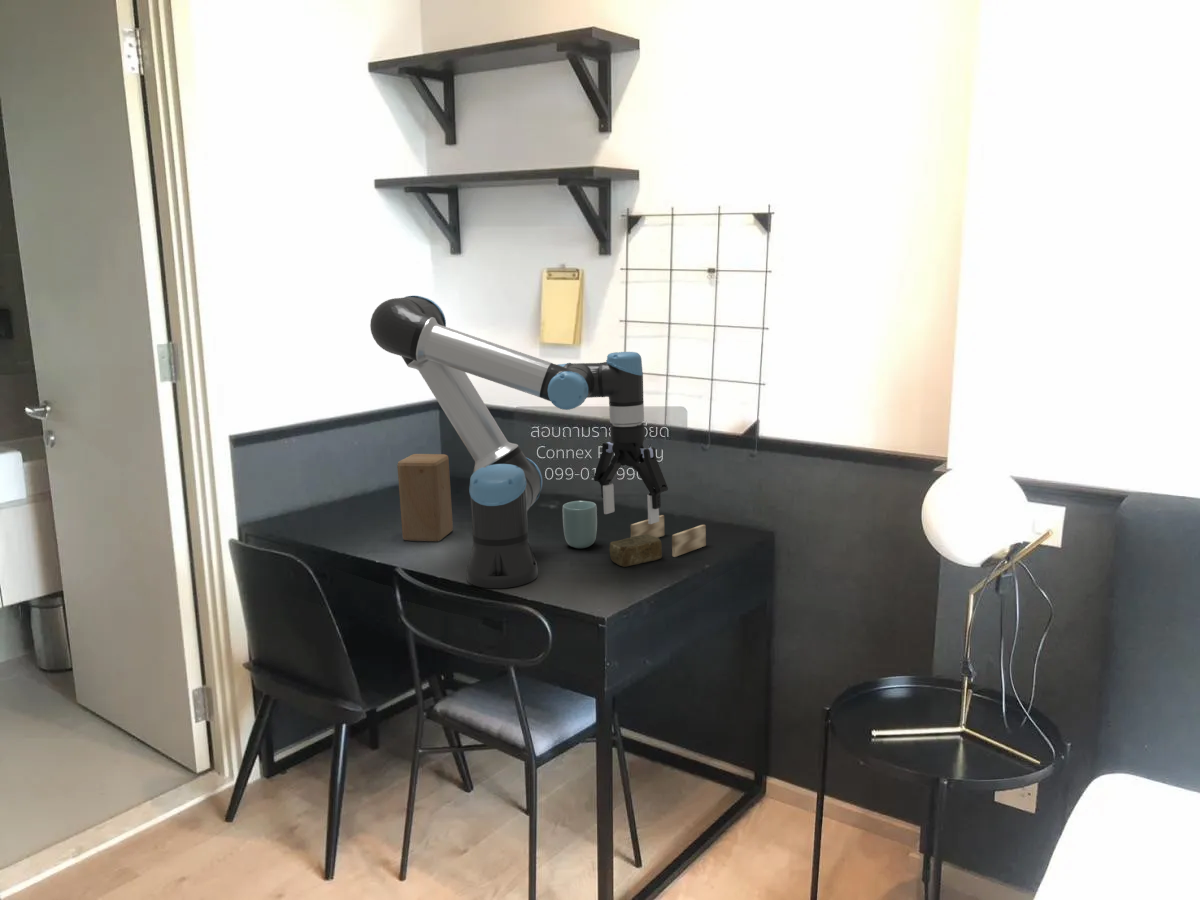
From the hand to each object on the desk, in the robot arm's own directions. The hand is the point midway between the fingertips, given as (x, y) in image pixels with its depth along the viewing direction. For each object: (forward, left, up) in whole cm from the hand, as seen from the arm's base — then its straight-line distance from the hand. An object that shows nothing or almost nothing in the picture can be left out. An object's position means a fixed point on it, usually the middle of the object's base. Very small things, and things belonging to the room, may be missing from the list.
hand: (631, 517), depth 204 cm
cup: (-1, +16, -10) cm, 19 cm away
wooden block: (-20, +51, -10) cm, 55 cm away
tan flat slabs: (+13, 0, -10) cm, 16 cm away
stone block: (0, -1, -10) cm, 10 cm away
